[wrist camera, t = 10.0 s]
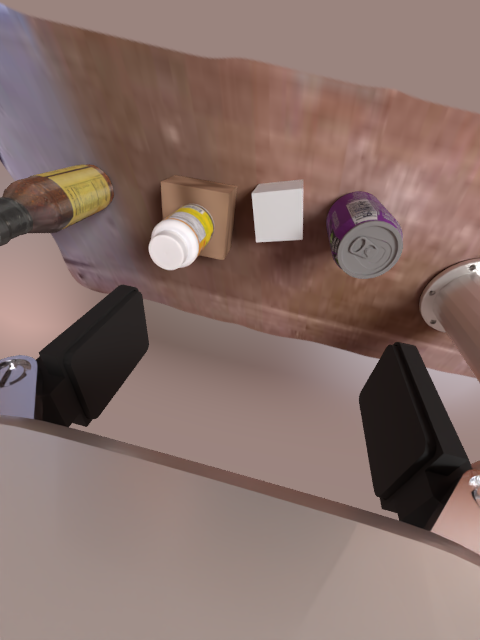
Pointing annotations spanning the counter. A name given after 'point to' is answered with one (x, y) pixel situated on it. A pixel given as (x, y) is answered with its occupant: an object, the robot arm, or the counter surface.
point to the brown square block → (210, 197)
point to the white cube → (278, 211)
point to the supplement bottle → (181, 237)
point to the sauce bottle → (53, 200)
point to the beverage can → (363, 235)
